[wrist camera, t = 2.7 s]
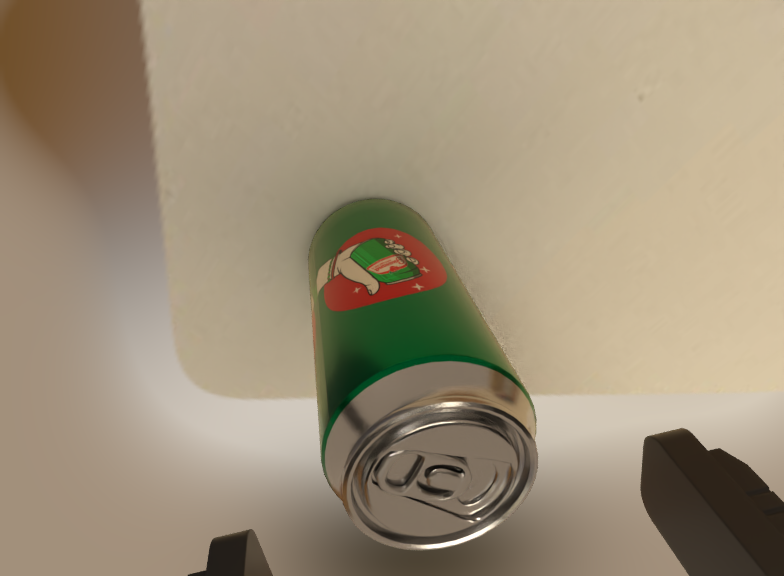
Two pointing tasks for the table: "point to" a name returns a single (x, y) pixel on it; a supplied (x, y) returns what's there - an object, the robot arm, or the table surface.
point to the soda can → (412, 385)
